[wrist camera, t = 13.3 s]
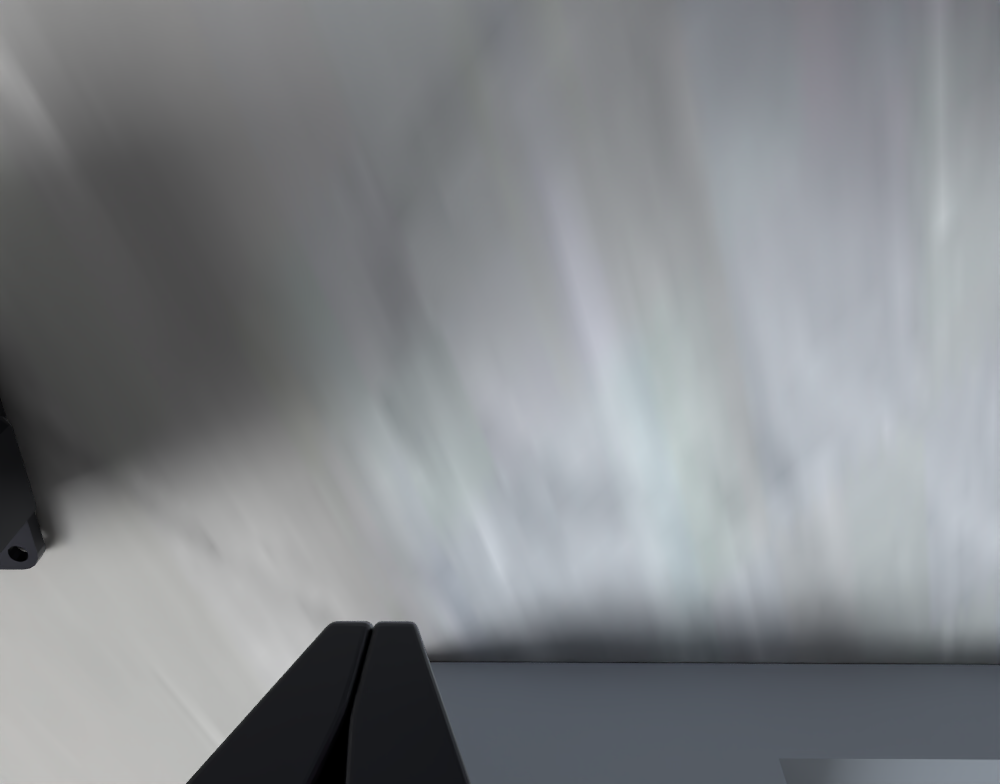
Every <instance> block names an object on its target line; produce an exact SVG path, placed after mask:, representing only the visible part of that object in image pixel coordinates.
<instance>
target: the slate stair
mask: <svg viewBox="0 0 1000 784" xmlns="http://www.w3.org/2000/svg"><path fill="white" fill-rule="evenodd" d="M430 664H431V667H432V670H433V673H434V676H435V679H436V682H437V685H438V688H439V691H440V693H441V696H442V699H443V702H444V705H445V708H446V711H447V714H448V717H449V720H450V723H451V726H452V729H453V731H454V734H455V737H456V740H457V743H458V746H459V749H460V752H461V755H462V758H463V761H464V764H465V766H466V769H467V772H468V775H469V778H470V781H471V784H1000V665H936V664H717V663H497V662H430Z"/></svg>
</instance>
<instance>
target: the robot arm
mask: <svg viewBox="0 0 1000 784" xmlns="http://www.w3.org/2000/svg"><path fill="white" fill-rule="evenodd" d="M35 510H36V504H35V500H34V497H33V494H32V490H31V487H30V484H29V480H28V477H27V474H26V470H25V467H24V464H23V461H22V457H21V454H20V451H19V447H18V444H17V441H16V437H15V434H14V431H13V427H12V426H11V424H10V423H9V422H8V421H7V418H6V415H5V412H4V408H3V405H2V402H1V399H0V569H29V568H31V567H33V566H34V565H36V563H37V562H38V561H39V559H40V558H41V557H42V555H43V553H44V551H45V543H44V540H43V537H42V534H41V530H40V527H39V524H38V520H37V517H36V514H35ZM17 546H19V547H22V548H23V549H25V550H26V551H27V552H24V551H22V550H20V549H19V548H18V547H17ZM186 784H471V781H470V778H469V775H468V772H467V769H466V766H465V764H464V761H463V758H462V755H461V752H460V749H459V746H458V743H457V740H456V737H455V734H454V731H453V729H452V726H451V723H450V720H449V717H448V714H447V711H446V708H445V705H444V702H443V699H442V696H441V693H440V691H439V688H438V685H437V682H436V679H435V676H434V673H433V670H432V667H431V664H430V661H429V658H428V656H427V653H426V650H425V647H424V644H423V641H422V638H421V635H420V632H419V629H418V627H417V625H416V624H415V623H413V622H409V621H381V622H378V623H377V624H376V625H375V626H374V627H373V625H372V624H371V623H369V622H367V621H336V622H332V623H331V624H329V625H328V626H327V627H326V628H325V629H324V630H323V631H322V632H321V633H320V635H319V636H318V637H317V638H316V639H315V640H314V641H313V642H312V643H311V645H310V646H309V647H308V648H307V649H306V650H305V651H304V652H303V654H302V655H301V656H300V657H299V658H298V659H297V660H296V661H295V662H294V664H293V665H292V666H291V667H290V668H289V669H288V670H287V671H286V673H285V674H284V675H283V676H282V677H281V678H280V679H279V680H278V681H277V683H276V684H275V685H274V686H273V687H272V688H271V689H270V690H269V692H268V693H267V694H266V695H265V696H264V697H263V698H262V699H261V700H260V702H259V703H258V704H257V705H256V706H255V707H254V708H253V709H252V711H251V712H250V713H249V714H248V715H247V716H246V717H245V718H244V719H243V721H242V722H241V723H240V724H239V725H238V726H237V727H236V728H235V730H234V731H233V732H232V733H231V734H230V735H229V736H228V737H227V738H226V740H225V741H224V742H223V743H222V744H221V745H220V746H219V747H218V748H217V750H216V751H215V752H214V753H213V754H212V755H211V756H210V757H209V759H208V760H207V761H206V762H205V763H204V764H203V765H202V766H201V767H200V769H199V770H198V771H197V772H196V773H195V774H194V775H193V776H192V778H191V779H190V780H189V781H188V782H187V783H186Z"/></svg>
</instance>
